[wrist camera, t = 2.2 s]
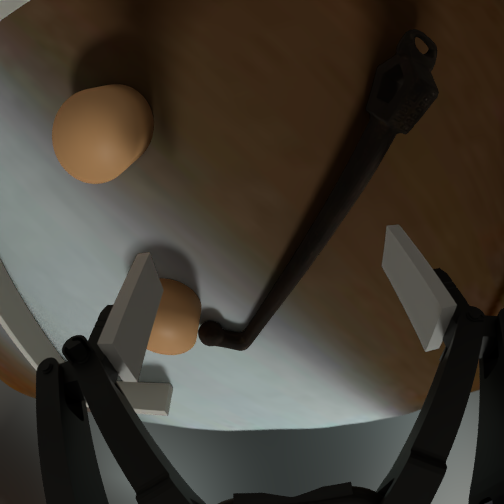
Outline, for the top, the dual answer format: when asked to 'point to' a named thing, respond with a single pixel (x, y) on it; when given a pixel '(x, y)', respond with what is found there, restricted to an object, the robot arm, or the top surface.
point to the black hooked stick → (351, 172)
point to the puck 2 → (175, 319)
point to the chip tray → (35, 341)
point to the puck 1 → (102, 132)
